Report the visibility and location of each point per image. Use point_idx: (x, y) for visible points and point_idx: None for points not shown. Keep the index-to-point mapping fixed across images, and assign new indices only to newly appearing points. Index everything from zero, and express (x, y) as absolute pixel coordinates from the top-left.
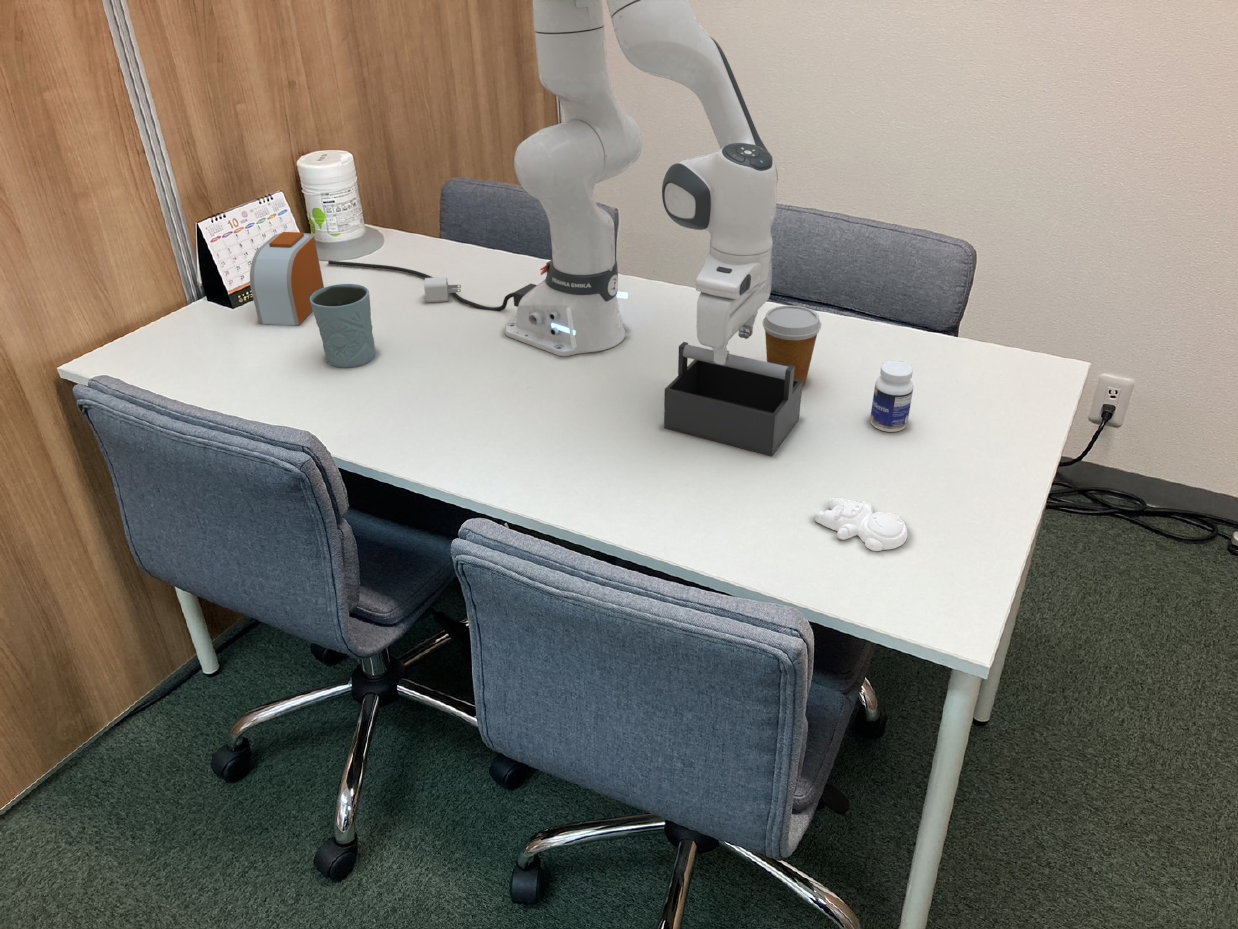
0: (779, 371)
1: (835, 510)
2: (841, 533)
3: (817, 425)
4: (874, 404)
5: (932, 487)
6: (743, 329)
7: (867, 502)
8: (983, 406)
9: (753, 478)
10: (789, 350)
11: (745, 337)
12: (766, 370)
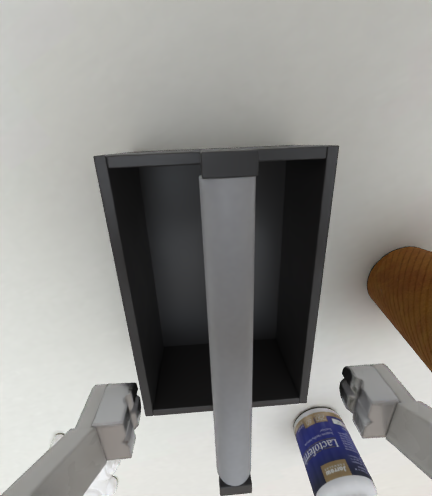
0: (218, 468)
1: None
2: None
3: None
4: (316, 447)
5: (200, 484)
6: (363, 410)
7: (111, 474)
8: (393, 474)
9: (89, 349)
10: (424, 354)
11: (342, 387)
12: (215, 439)
